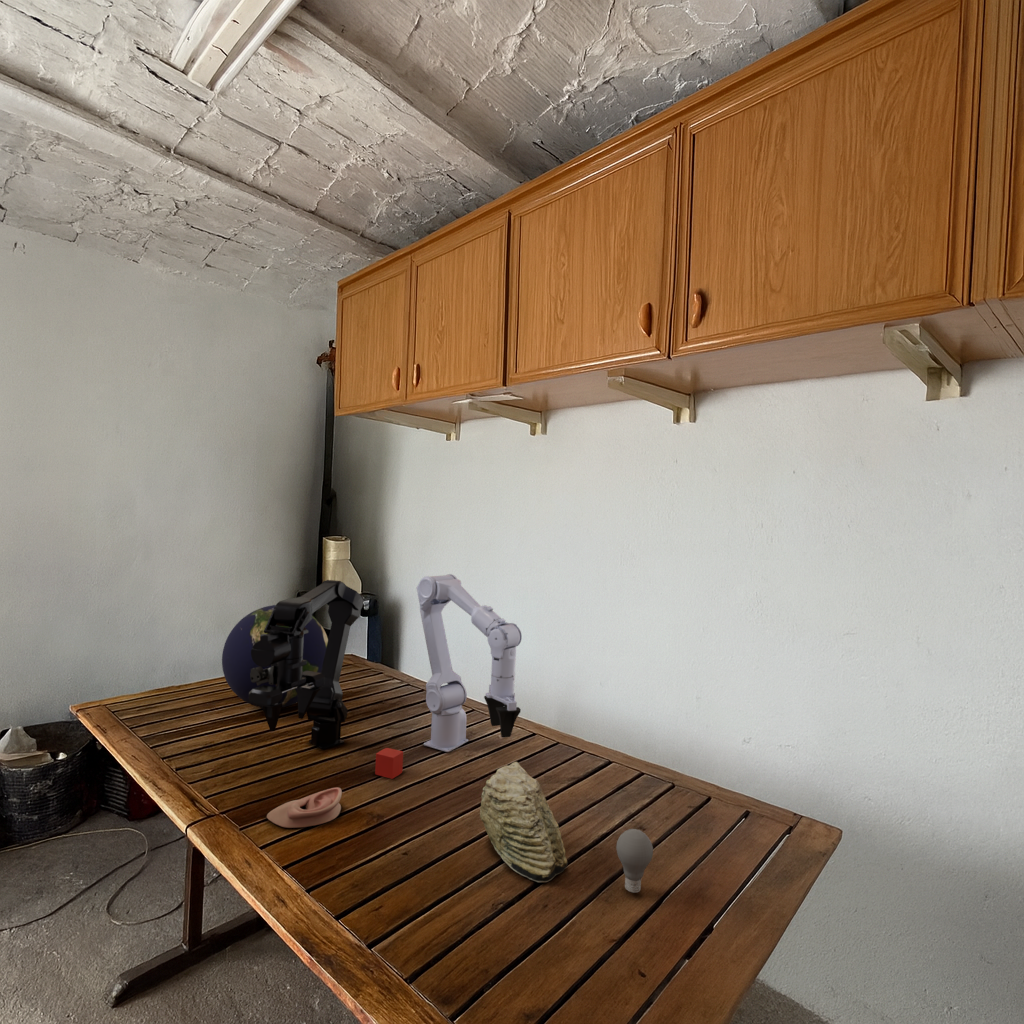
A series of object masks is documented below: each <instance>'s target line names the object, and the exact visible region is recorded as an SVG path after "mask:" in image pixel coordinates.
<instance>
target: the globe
mask: <svg viewBox="0 0 1024 1024" xmlns="http://www.w3.org/2000/svg"><path fill="white" fill-rule="evenodd" d="M275 605H276V604H272V605H266V606H263V607H260V608H257V609H255V610H253V611H251V612H250V613H248V614H246V615H245V616H243V618H241V619H240V620H239V621H238V622H237V623H235V625H234V627H232V629H231V631H230V632H229V634H228V635H227V637H226V640H225V642H224V645H223V649H222V654H221V666H222V672H223V676H224V678H225V679H224V680H225V681H226V683H227V685H228V687H229V688H230V689H231V691H232V692H233V693H234V694H235V695H236V696H237V697H238V698H239V699H240V700H242V701H244V702H245V703H247V704H248V705H251V706H254V707H258V708H261V707H260V706H259V705H255V704H254V703H252V702H249V692H250V691H251V690H252V689H254V688H257V687H260V686H263V685H266V686H271V687H276V685H275V684H274V685H270V684H269V682H266V683H262V684H261V685H258V686H257V682H255V683H253V682H251V678H250V673H251V669H253V668H256V667H260V666H258V665H256V664H255V663H254V661H253V659H252V657H251V650H252V648H253V646H254V644H255V643H256V642H258V641H260V635H262V634H268V633H264V629H265V627H266V625H267V623H268V620H269V618H270V616H271V614H272V611H273V609H274V607H275ZM276 626H277V625H276ZM279 627H285V626H279ZM289 628H292V627H289ZM305 628H306V629H307V630H308V633H307V634H304V643H303V660H307V665H304V666H303V667H302V672H304V671H313V672H319V673H321V670H322V665H323V661H324V656H325V652H326V647H327V643H328V638H329V637H328V635H327V633H326V631H325V629H324V627H323V626H322V624H321V623H320V621H318V619H317V618H315V616H314V615H312V619H311V620H310V622H309V623H308V624H307V625H306V626H305ZM270 667H271V665H269V666H267V667H262V668H263V669H267V668H270ZM280 702H282V707H281V709H282V708H285V707H289V706H293V705H295V704H298V694H297V692H296V691H295V689H294V690H291V691H288V692H285V693H283V694H282V699H281V700H280Z"/></svg>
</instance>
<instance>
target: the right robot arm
mask: <svg viewBox="0 0 1024 1024" xmlns="http://www.w3.org/2000/svg"><path fill="white" fill-rule="evenodd" d="M416 592H417V600H418V603H419V613H420V619H421V623H422V629H423V632H424V640H425V645H426V649H427V655H428V661H429V665H430V670H431V677H430V678H429V679H428V681H427V682H426V684H425V690H426V691H425V692H426V695H425V702H426V706H427V708H428V709H429V713H431V722H430V723H431V724H430V726H431V728H430V739H429V740H427V741H425V742H424V743H423V746H424V747H428V748H431V749H434V750H439V751H442V752H445V753H449V752H451V751H453V750H455V749H457V748H459V747H461V746H462V745H464V744H466V743H468V742H469V739H468V738H467V721H468V719H467V717H468V716H467V714H466V710H464V708H463V705H465V703H466V702H467V698H468V692H467V689H466V687H465V685H464V684H463V680H462V677H461V675H459V674H458V673H456V672H455V671H454V670H453V664H452V659H451V655H450V649H449V644H448V639H447V635H446V630H445V624H444V620H443V614H442V612H443V610H444V608H445V607H446V606H447V605H448V604H449V603H451V601H452V603H454V605H457V606H458V607H459V609H462V610H463V611H464V612H465V613H467V614H468V615H469V616H470V621H471V623H472V625H473V626H475V628H476V629H478V630H479V632H480V633H482V634H483V635H484V636H485V637H486V638H487V643H488V646H489V648H490V655H491V670H490V671H491V672H490V673H491V674H490V675H491V676H490V684H489V685H488V692H485V695H484V696H483V699H484V700H485V703H486V706H487V711H488V715H489V722H490V725H491V727H497V726H499V730H500V737H501V738H502V739H504V738H511V736H512V733H513V729H514V727H515V723H516V720H517V719H518V716H519V715H520V713H521V707H519V706H518V705H517V701H516V693H515V686H516V685H515V684H516V683H515V682H516V665H517V664H516V662H517V661H516V660H517V647H518V646H520V644H521V642H522V639H523V638H522V631H521V629H520V627H519V626H518V625H517V624H516V623H514V622H507V621H506V619H504V618H502V617H501V616H500V615H498V614H497V612H495V611H494V608H493V607H492V606H491V605H485V604H484V605H481V604H480V603H479V602H477V601H476V599H475V598H474V597H473V596H472V595H471V594H470V593H469V591H467V590H466V589H465V588H464V587H463V585H462V581H461V580H460V579H458V578H457V576H456V575H454V574H452V573H449V574H442V575H432V576H430V575H425V576H423V577H422V578H421V579H420V580H419V582H418V585H417V586H416Z"/></svg>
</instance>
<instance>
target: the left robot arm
mask: <svg viewBox="0 0 1024 1024" xmlns="http://www.w3.org/2000/svg"><path fill="white" fill-rule="evenodd" d="M274 605H275V607H274V609H273V611H272V614H271V616H270V618H269V620H268V623H267V625H266V627H265V629H264V633H268V634H262V635H260V641H258V642H256V643H255V644H254V646H253V648H252V650H251V657H252V659H253V661H254V663H255V664H256V665H258V666H260V667H256V668H253V669H251V673H250V678H251V682H253V683H255V682H257V686H258V685H261V684H262V683H266V682H269V684H270V685H274V684H275V685H276V687H271V686H266V685H263V686H260V687H257V688H254V689H252V690H251V691H250V692H249V702H252V703H254V704H255V705H259V706H260V707H259V708H261V710H262V712H263V714H264V717H265V720H266V723H267V726H268V729H269V731H271V732H275V731H276V729H277V726H278V723H279V719H280V715H281V710H282V708H283V707H282V702H280V700H281V699H282V694H283V693H285V692H288V691H291V690H294V689H295V691H296V692H297V694H298V702H297V717H298V718H299V719H300V720H303V719H304V718H305V716H307V721H312V722H313V723H312V727H311V730H310V731H311V732H310V733H311V735H310V739H309V740H308V743H309V744H310V745H313V746H314V747H316V748H318V749H320V750H327V749H329V748H333V747H336V746H340V745H343V744H344V743H345V741H344V740H343V739H341V737H342V735H341V733H342V723H345V722H346V719H347V717H348V714H349V713H348V711H349V710H348V708H347V707H346V705H345V703H344V702H343V696H344V694H343V690H342V687H341V685H340V678H341V675H342V669H343V664H344V659H345V656H346V655H345V654H346V651H347V650H346V649H347V645H348V640H349V635H350V631H351V627H352V626H353V624H354V623H355V622H356V621H357V620H358V619H359V617H360V615H361V611H362V608H363V605H364V599H363V597H362V596H361V594H360V593H359V592H358V591H356V590H355V589H353V588H351V587H350V586H348V585H346V583H344V582H343V581H341V580H335V579H326V580H323V581H322V583H321V584H319V585H317V586H316V587H314V588H312V589H311V590H309V591H308V592H306V593H304V594H302V595H300V596H297V597H292V598H285V599H282V600H279V601H278V602H277V603H276V604H274ZM326 605H327V606H328V607H327V608H328V609H327V613H328V617H329V619H330V622H331V624H330V628H329V629H330V630H329V634H328V637H327V638H328V643H327V647H326V652H325V656H324V661H323V665H322V670H321V673H319V672H313V671H304V672H302V667H303V666H304V665H307V660H303V643H304V634H307V633H308V630H307V629H306V628H305V626H306V625H307V624H308V623H309V622H310V620H311V619H312V616H313V614H314V613H315V612H317V611H318V610H320V609H321V608H323V607H324V606H326ZM276 625H277V626H276ZM279 626H285V627H279ZM289 627H292V628H289ZM269 665H271V667H270V668H267V669H263V668H262V667H267V666H269ZM281 707H282V708H281Z"/></svg>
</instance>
